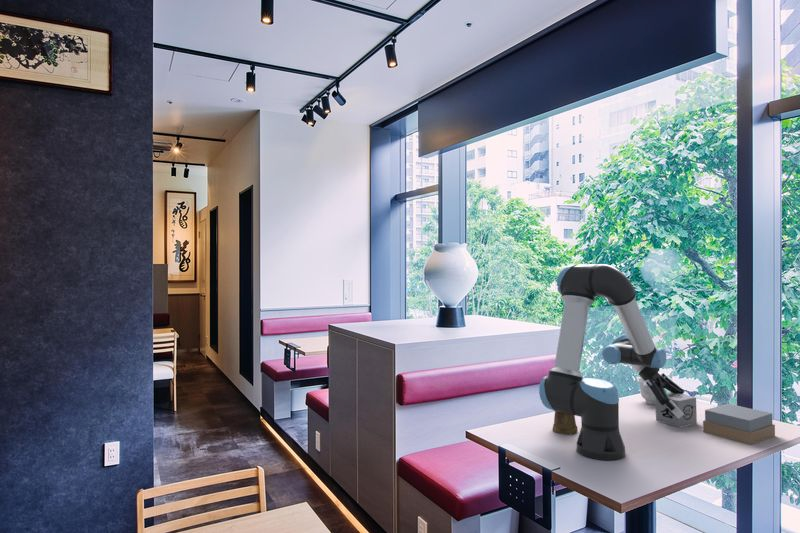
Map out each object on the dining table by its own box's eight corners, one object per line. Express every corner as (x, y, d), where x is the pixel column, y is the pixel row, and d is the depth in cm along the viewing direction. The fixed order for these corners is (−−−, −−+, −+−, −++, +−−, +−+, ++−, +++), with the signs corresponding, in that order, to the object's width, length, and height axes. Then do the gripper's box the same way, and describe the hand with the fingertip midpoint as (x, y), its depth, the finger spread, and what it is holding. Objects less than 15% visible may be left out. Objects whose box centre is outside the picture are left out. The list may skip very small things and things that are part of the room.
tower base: (750, 444, 172) (750, 421, 172) (703, 431, 186) (702, 409, 186) (775, 435, 179) (774, 413, 179) (727, 423, 193) (727, 403, 193)
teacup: (630, 404, 223) (629, 381, 222) (644, 397, 233) (643, 376, 233) (659, 409, 214) (658, 386, 214) (672, 402, 224) (671, 379, 224)
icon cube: (673, 416, 204) (672, 391, 204) (696, 423, 195) (696, 397, 195) (656, 420, 200) (655, 395, 200) (679, 427, 191) (678, 401, 191)
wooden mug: (589, 428, 192) (588, 381, 192) (568, 436, 184) (567, 387, 184) (568, 422, 200) (567, 377, 199) (547, 430, 191) (546, 383, 191)
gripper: (650, 368, 215) (691, 411, 204) (625, 378, 199) (668, 425, 188) (663, 357, 211) (705, 400, 200) (639, 366, 195) (683, 414, 184)
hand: (687, 412), depth 194 cm, fingers open, 12 cm apart
